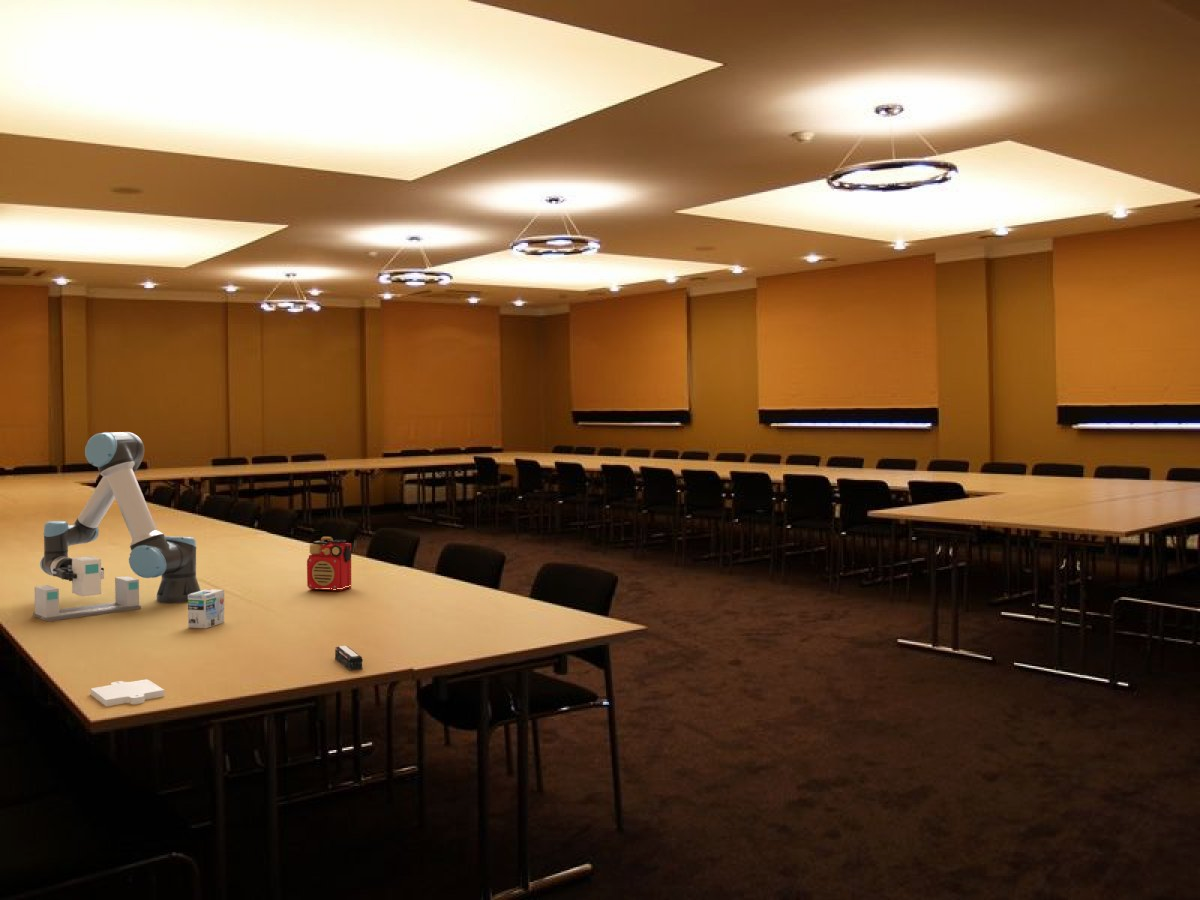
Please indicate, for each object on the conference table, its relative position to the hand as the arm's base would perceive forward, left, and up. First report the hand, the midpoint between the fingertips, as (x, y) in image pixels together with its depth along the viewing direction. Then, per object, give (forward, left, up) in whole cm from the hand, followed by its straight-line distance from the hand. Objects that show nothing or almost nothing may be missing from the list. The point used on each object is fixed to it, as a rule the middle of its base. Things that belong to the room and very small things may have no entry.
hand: (92, 576), depth 336 cm
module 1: (+12, +6, -12) cm, 18 cm away
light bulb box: (-44, +18, -13) cm, 49 cm away
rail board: (+3, -4, -13) cm, 14 cm away
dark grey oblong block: (-99, +68, -14) cm, 121 cm away
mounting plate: (-52, +99, -14) cm, 113 cm away
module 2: (-6, -13, -13) cm, 19 cm away
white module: (+4, -4, -6) cm, 8 cm away
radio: (-69, -47, -13) cm, 84 cm away
